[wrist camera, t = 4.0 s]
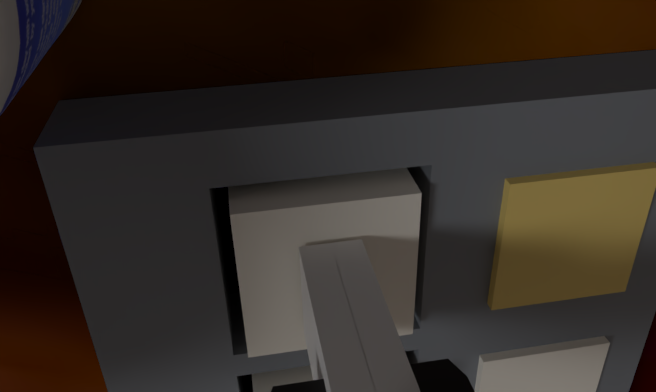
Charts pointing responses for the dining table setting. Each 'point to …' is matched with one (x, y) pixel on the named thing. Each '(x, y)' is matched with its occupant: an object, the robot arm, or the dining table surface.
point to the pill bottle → (28, 39)
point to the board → (435, 218)
